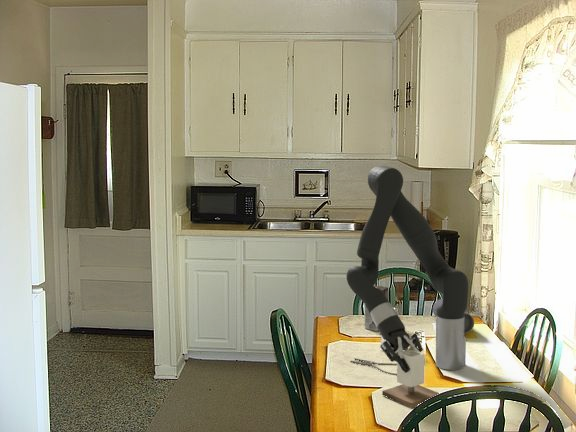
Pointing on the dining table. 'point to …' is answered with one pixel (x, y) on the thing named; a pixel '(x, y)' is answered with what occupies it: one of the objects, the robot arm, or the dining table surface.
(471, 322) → the bluetooth speaker
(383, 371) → the pliers
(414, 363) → the sleeve
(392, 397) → the post stand
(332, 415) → the dining table surface
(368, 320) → the coffee box
